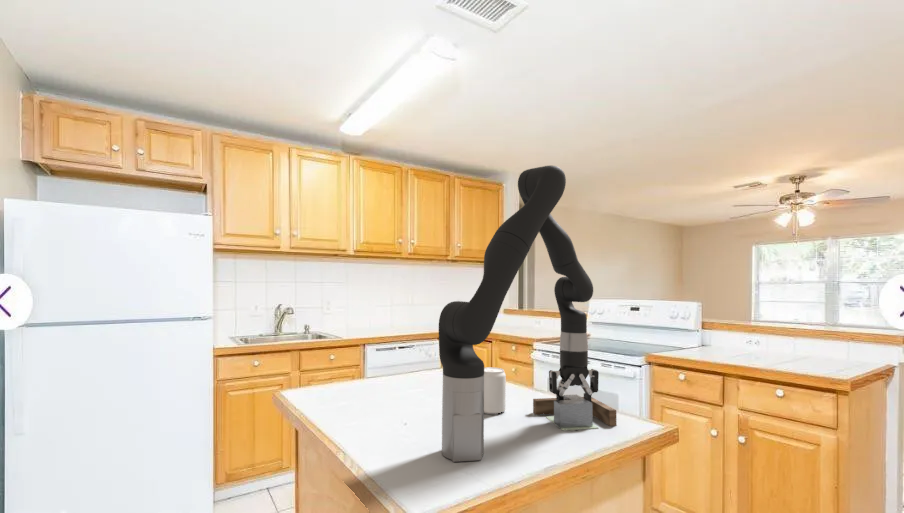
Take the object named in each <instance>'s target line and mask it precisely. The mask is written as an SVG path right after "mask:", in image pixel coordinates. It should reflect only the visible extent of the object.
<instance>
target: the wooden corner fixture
mask: <svg viewBox="0 0 904 513" xmlns="http://www.w3.org/2000/svg"><path fill="white" fill-rule="evenodd" d="M581 397H582V398H584V396H581ZM554 400H556V397H545V398H533V399H532V401H533V402H532V413H533V414H534V415H535V416H539V415H540V414H545V415H554ZM591 403H592V414H593V417H594V418H596V419H597V420H599V421H601V422H602V423H604V424H606V425H608V426H609V427H612V426H614V427H615V426H617V409H615V408H613V407H611V406H609V405H608V404H605V403H603V402H602V401H600V400H598V399H596V398H594V397H593V396H591ZM540 416H541V415H540Z"/></svg>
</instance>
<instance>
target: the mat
mask: <svg viewBox="0 0 904 513" xmlns="http://www.w3.org/2000/svg"><path fill="white" fill-rule="evenodd" d="M545 419H547V420H549V421H550V422H551V423H552V424H554V415H553V416H550V415H549V416H548V415H547V416H545ZM554 425H555V426H556V427H558V426H557V425H556V424H554ZM558 428H559V429H560V430H562V431H574V430H576V431H577V430H593V429H595V430H596V429H597V430H599V426H598V425H596V424H594V423H593V426H592V427H573V428H560V427H558Z"/></svg>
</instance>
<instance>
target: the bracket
mask: <svg viewBox="0 0 904 513" xmlns="http://www.w3.org/2000/svg"><path fill="white" fill-rule="evenodd" d="M563 396H564V400H554V414H553V416H554V423H553V424H554V425H555V424H556V425H557V426H556V425H555V426H556V427H558V428H559V427H560V428H573V427H592V426H593V424H594V423H593V421H594V420H593V419H594V418H593V417H594V416H593V414H592V403H591V402H589V401H587V400H586V399H584V398H582V397H583V396H580V395H578V394H563ZM560 428H559V429H560Z"/></svg>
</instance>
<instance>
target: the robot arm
mask: <svg viewBox="0 0 904 513" xmlns="http://www.w3.org/2000/svg"><path fill="white" fill-rule="evenodd" d="M566 179H567V178H566V174H565V172H564V170H563V169H562V168H561V167H559V166H558V165H544V166H539V167H538V166H537V167H534V168H533V167H532V168H529V169H525V170H523V171H522V172H521V173H520V174H519V176H518V180H517V189H518V193H519V196H520V198H521V200H522V202H523V204H524V205H523V206H522V207H521V208H520V209H518V210H517V211H516V212H515V213H513V214H512V215H511V216H510V217H509V218H507V219H506V220H505V221H504V222H503V223H502V224H501V225H500V226H499V227H498V228H497V230H496V231H495V232H494V234H493V236H492V237H491V240H490V241H489V243H488V245H487V247H486V248H485V252H484V256H483V276H482V280H481V282H480V284H479V286H478V288H477V289H476V291H475V293H474V294H473V296H472V298H471V299H470V300H469V301H461V300H460V301H459V300H456V301H451V302H448V303H447V304H446V305H445V306H444V307H443V308H442V310H441V312H440V314H439V319H438V350H439V351H438V353H439V354H438V355H439V360H440V363H441V366H442V399H441V400H442V401H441V402H442V403H441V405H442V408H441V413H442V414H441V415H442V416H441V454H442V456H443V457H444V458H447V459H449V460H451V461H452V462H453V463H457V462H458V463H459V462H472V461H481V460H482V457H483V456H484V444H485V442H484V441H485V435H484V434H485V433H484V432H485V428H484V427H485V424H484V423H485V413H484V368H485V364H484V361H483V360H482V359H481V358H480V357H479V356H478V354H477V353H476V351H475V349H474V346H476V345H480V344H481V343H483V342H484V341H485V340H487V338H488V337H489V335H490V334H491V332H492V330H493V328H494V325H495V323H496V320H497V317H498V316H499V313H500V310H501V308H502V305H503V302H504V300H505V298H506V296H507V293H508V291H509V290H510V288H511V286H512V283H513V282H514V280H515V277H516V275H517V274H518V272H519V270H520V268H521V266H522V265H523V264H524V261H525V259H526V258H527V256H528V254H529V252H530V250H531V248H532V245H533V244H534V241H535V240H536V238H537V236H538V234H540V237H541V238H542V241H543V243H544V245H545V249H546V251H547V254H548V256H549V260H550V263H551V266H552V269H553V271H554V272H555V273H556V274H558V275H562V277H558V279H557V280H556V282H555V284H554V287H553V288H554V290H553V292H554V297H555V301H556V303H557V307H558V311H559V315H560V336H559V365H560V367H559V370H553V369H552V370H549V371H548V384H549V385H548V386H549V387H548V388H549V390H548V391H549V392H550V393H551V394H554V395H555V398H556V400H564V396H563V395H565V392H566V391H567V390H568V388H569V387H574V386H577V387H579V386H580V387H581V388H582V391H583V392H584V393H583V397H584V399H586V400H587V401H589V402H591V397H592V394H595V393H598V392H599V371H598V370H597V369H593V368H591V369H589V368H588V363H589V356H588V355H589V354H588V353H589V344H588V343H589V341H588V333H587V331H588V329H587V327H588V325H587V322H588V321H587V320H588V318H587V314H586V313H585V311H582V310H579V309H578V308H577V309H576V308H575V306H574V303H585V302H589V301H590V300H591V299H592V297H593V296H594V285H593V282H592V280H591V277H589V275H588V273H587V271H586V270H585V269H584V267H583V265H582V264H581V263H580V261H579V260H578V254H577V253H576V250H575V246H574V244H573V241H572V239H571V237H570V236H569V234H568V233H567V232H566V231H565V229H564V228H563V227H562V226H561V225H560V224H559V223H558V221H557V220H556V219H555V218H554V216H553V215H552V212H553V210H554V209H555V207H556V205H558V203H559V201H560V200H561V199H562V197H563V196H564V195H563V194H564V191H565V189H566V183H567V180H566ZM588 376H589V383H588V382H587V377H588ZM559 377H560V378H561V379H560V381H559V382H557V381H558V379H559ZM557 383H558V384H557Z"/></svg>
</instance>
